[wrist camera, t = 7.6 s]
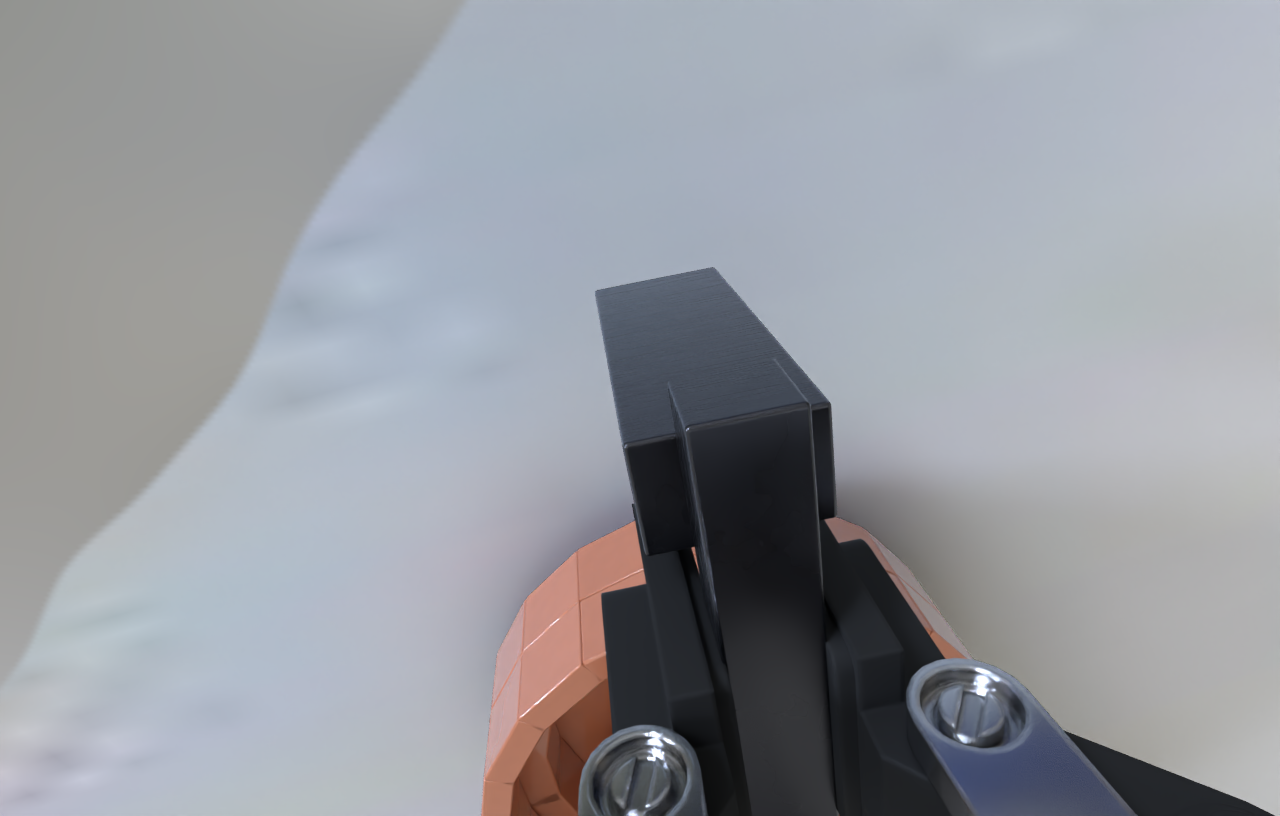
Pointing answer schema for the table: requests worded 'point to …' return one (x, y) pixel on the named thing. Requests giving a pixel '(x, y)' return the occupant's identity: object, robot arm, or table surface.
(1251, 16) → the table surface
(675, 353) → the black lever handle
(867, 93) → the table surface
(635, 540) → the bowl
